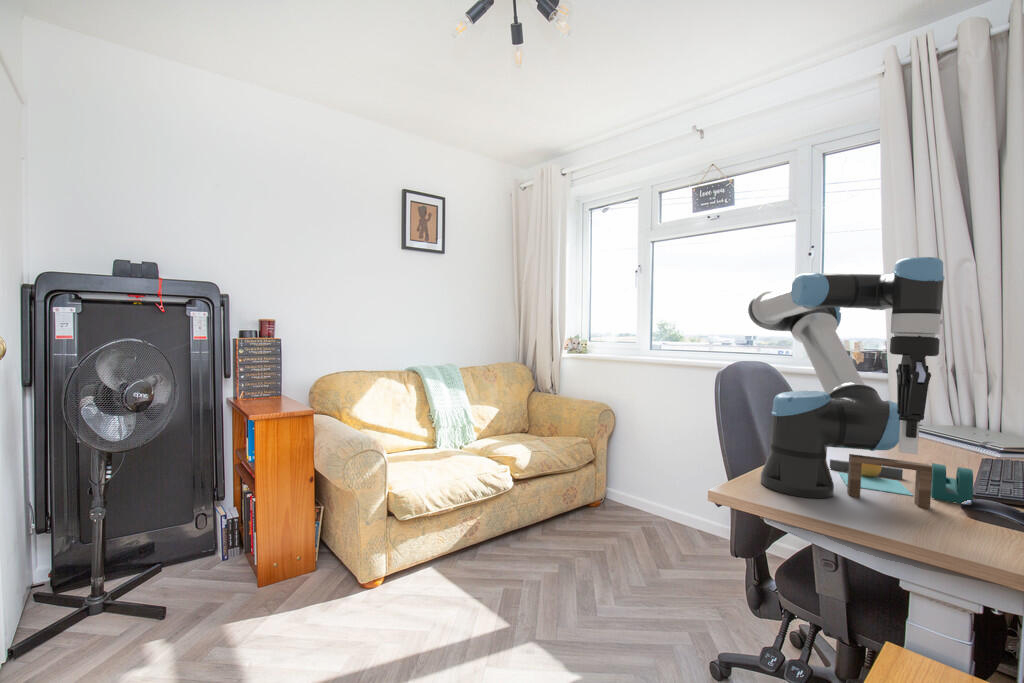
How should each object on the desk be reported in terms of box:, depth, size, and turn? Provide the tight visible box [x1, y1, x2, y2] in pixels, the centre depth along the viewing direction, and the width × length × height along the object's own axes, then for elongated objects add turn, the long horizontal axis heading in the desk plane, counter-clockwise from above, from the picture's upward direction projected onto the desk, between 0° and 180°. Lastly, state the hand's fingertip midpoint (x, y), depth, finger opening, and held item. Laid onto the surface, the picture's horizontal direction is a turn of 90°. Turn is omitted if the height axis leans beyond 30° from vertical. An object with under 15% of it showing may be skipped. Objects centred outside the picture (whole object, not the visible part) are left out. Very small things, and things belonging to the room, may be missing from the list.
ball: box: [861, 455, 881, 477], centre depth 126 cm, size 6×6×6 cm
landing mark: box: [837, 471, 914, 497], centre depth 120 cm, size 13×13×1 cm
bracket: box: [931, 462, 974, 505], centre depth 115 cm, size 18×7×8 cm, turn 142°
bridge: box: [846, 453, 932, 509], centre depth 108 cm, size 3×14×9 cm, turn 63°
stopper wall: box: [829, 458, 904, 480], centre depth 130 cm, size 16×2×2 cm, turn 63°
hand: (907, 452), depth 95 cm, fingers closed
